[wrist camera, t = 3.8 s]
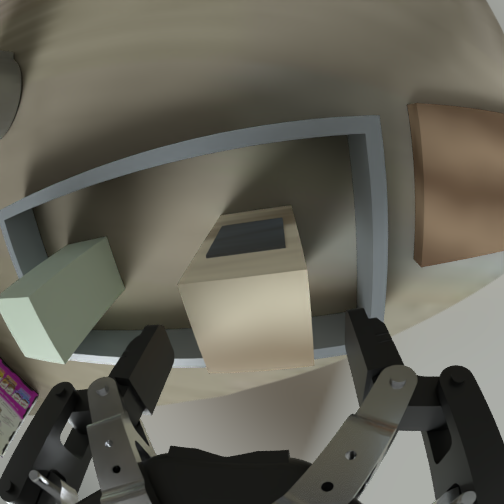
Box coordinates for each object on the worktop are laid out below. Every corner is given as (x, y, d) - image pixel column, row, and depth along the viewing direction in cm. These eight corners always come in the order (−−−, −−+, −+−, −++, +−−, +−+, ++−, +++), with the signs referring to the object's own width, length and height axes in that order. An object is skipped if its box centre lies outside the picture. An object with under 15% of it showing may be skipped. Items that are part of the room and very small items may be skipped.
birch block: (220, 213, 20) (176, 281, 11) (290, 202, 19) (306, 265, 10) (234, 277, 22) (208, 373, 13) (299, 269, 21) (314, 365, 12)
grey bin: (24, 200, 20) (-4, 212, 17) (358, 118, 17) (379, 115, 13) (77, 336, 26) (60, 358, 23) (367, 317, 23) (380, 348, 19)
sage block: (67, 244, 22) (-7, 299, 13) (106, 236, 21) (28, 297, 12) (85, 292, 24) (25, 356, 15) (125, 289, 23) (65, 364, 14)
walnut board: (407, 104, 16) (416, 103, 14) (510, 116, 14) (520, 117, 13) (413, 259, 20) (421, 267, 19) (507, 241, 19) (516, 247, 17)
